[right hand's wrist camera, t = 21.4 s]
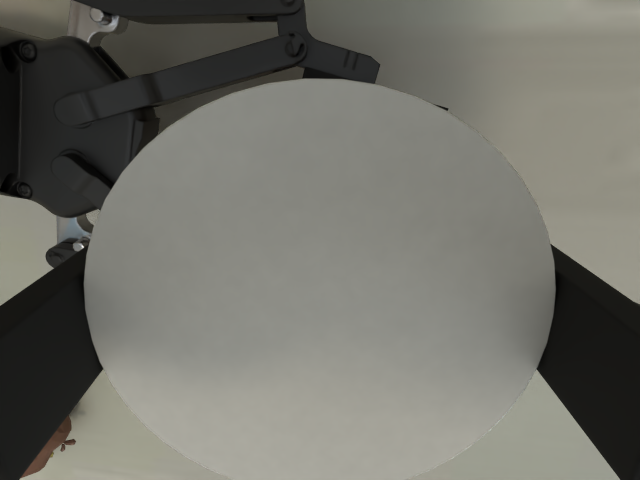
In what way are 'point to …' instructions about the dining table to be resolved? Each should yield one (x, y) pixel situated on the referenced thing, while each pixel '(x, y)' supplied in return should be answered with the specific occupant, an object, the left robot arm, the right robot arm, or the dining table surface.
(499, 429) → the dining table surface
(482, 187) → the lid
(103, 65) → the left robot arm
